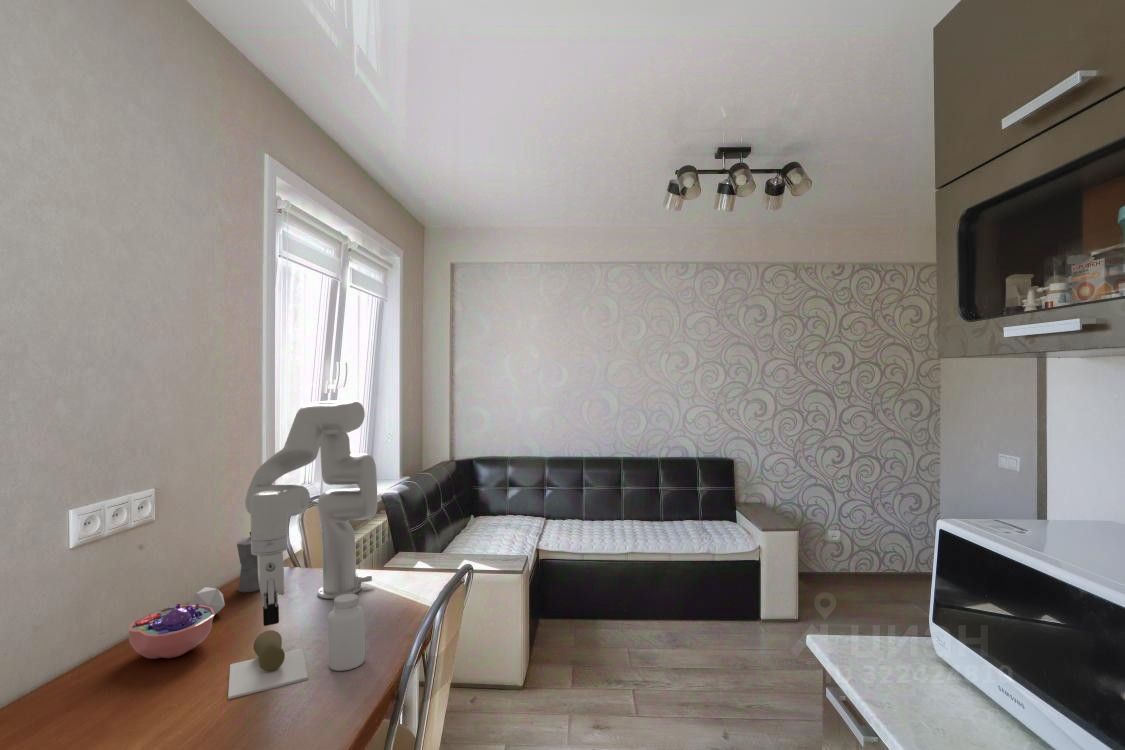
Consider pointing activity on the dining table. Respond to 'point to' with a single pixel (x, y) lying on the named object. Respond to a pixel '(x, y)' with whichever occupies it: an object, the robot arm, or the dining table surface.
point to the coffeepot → (247, 567)
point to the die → (209, 599)
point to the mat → (265, 674)
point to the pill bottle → (346, 633)
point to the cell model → (171, 630)
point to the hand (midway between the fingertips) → (271, 623)
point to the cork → (269, 650)
